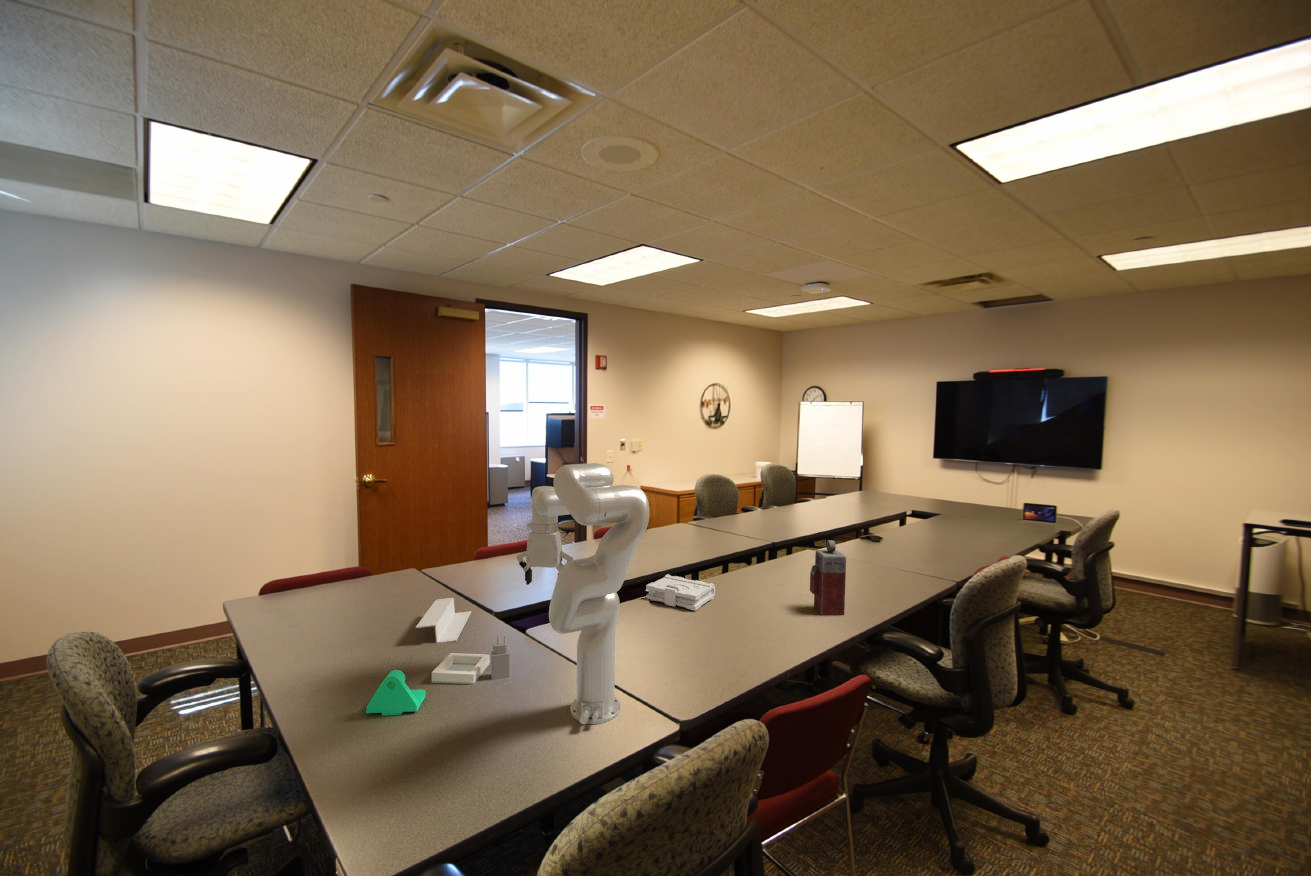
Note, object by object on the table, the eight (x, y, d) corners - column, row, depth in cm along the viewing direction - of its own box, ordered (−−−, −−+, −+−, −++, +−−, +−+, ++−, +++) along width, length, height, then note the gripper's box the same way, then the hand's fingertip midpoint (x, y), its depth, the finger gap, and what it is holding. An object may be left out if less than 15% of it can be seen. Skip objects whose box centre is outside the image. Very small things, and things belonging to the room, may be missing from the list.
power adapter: (511, 678, 152) (511, 637, 151) (491, 680, 151) (491, 639, 150) (510, 673, 155) (510, 632, 154) (491, 675, 153) (491, 634, 153)
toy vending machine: (807, 607, 210) (809, 537, 208) (836, 608, 210) (838, 537, 208) (814, 616, 201) (817, 543, 199) (844, 616, 201) (847, 543, 199)
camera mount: (426, 698, 141) (426, 660, 141) (416, 715, 134) (416, 675, 133) (379, 700, 140) (378, 662, 139) (366, 717, 132) (365, 676, 132)
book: (659, 585, 235) (659, 568, 235) (716, 598, 220) (717, 579, 220) (634, 598, 219) (634, 580, 218) (695, 612, 204) (695, 593, 203)
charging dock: (473, 684, 148) (473, 674, 148) (431, 682, 149) (431, 672, 149) (489, 664, 160) (489, 654, 160) (450, 662, 161) (450, 652, 161)
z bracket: (417, 645, 173) (415, 627, 173) (437, 616, 198) (435, 599, 198) (456, 640, 175) (454, 622, 175) (471, 612, 200) (469, 595, 199)
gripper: (512, 529, 157) (512, 586, 158) (569, 532, 155) (569, 589, 156) (521, 524, 164) (521, 578, 165) (576, 526, 162) (575, 581, 163)
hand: (544, 584), depth 161 cm, fingers open, 9 cm apart
